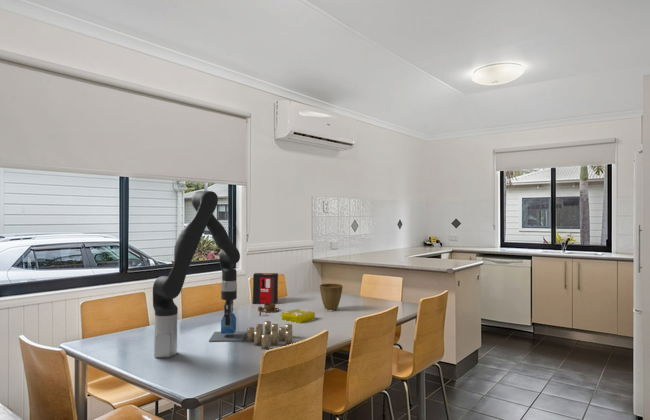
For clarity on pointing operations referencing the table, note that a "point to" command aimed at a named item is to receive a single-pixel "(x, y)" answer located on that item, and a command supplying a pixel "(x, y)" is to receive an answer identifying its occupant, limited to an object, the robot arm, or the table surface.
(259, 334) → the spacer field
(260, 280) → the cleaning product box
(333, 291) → the plant pot
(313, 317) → the element tile
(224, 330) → the perfume bottle
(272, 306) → the brown piece
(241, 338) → the mat
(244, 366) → the table surface
